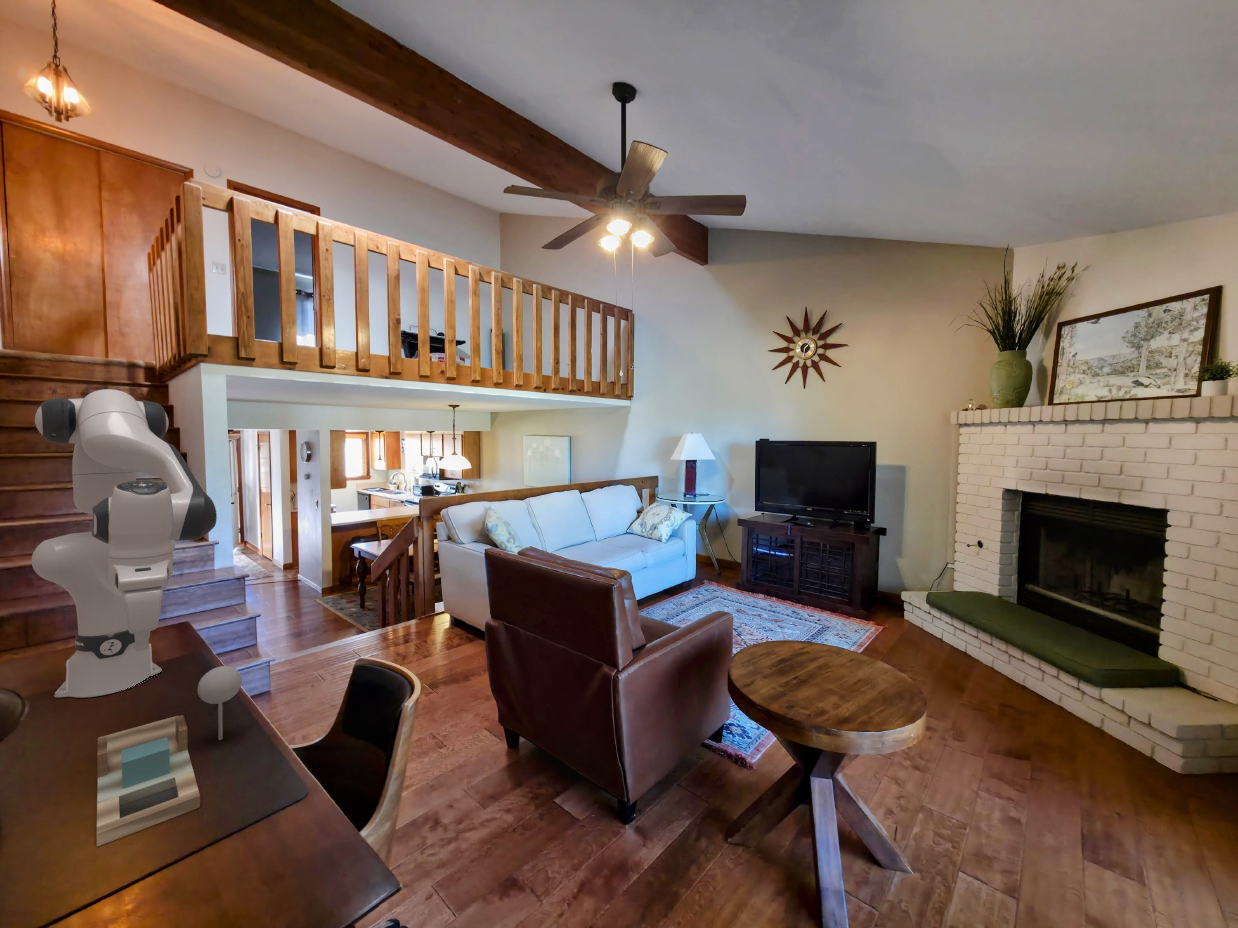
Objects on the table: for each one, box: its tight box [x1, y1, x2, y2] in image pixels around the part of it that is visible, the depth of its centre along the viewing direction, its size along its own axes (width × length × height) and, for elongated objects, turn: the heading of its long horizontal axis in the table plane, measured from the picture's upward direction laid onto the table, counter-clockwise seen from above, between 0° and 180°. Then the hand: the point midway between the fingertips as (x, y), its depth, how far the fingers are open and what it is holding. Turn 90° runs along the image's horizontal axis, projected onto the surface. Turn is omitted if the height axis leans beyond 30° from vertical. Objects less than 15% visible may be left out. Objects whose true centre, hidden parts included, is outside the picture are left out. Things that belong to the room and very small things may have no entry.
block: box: [122, 737, 170, 789], centre depth 89 cm, size 5×6×4 cm
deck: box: [96, 714, 201, 848], centre depth 92 cm, size 35×12×6 cm, turn 46°
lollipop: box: [197, 665, 243, 741], centre depth 103 cm, size 7×7×15 cm
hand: (140, 640), depth 95 cm, fingers open, 8 cm apart
